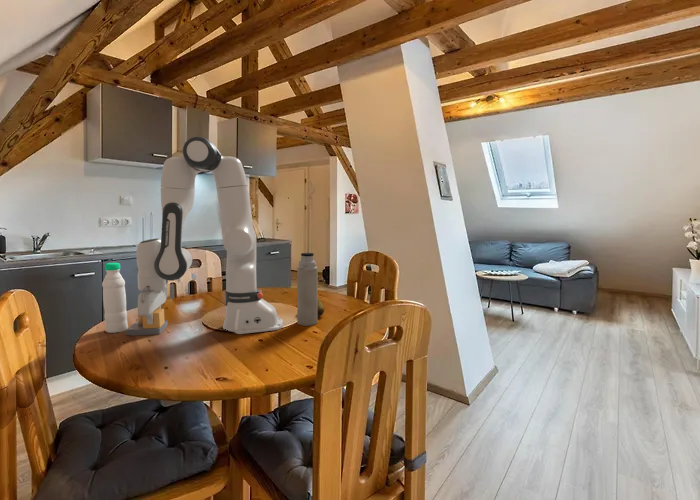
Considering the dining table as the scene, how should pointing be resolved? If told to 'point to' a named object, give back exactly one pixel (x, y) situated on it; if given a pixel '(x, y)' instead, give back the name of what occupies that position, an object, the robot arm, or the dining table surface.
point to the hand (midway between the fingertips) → (153, 320)
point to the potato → (320, 308)
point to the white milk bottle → (114, 299)
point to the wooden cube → (155, 319)
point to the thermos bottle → (307, 290)
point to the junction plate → (139, 330)
